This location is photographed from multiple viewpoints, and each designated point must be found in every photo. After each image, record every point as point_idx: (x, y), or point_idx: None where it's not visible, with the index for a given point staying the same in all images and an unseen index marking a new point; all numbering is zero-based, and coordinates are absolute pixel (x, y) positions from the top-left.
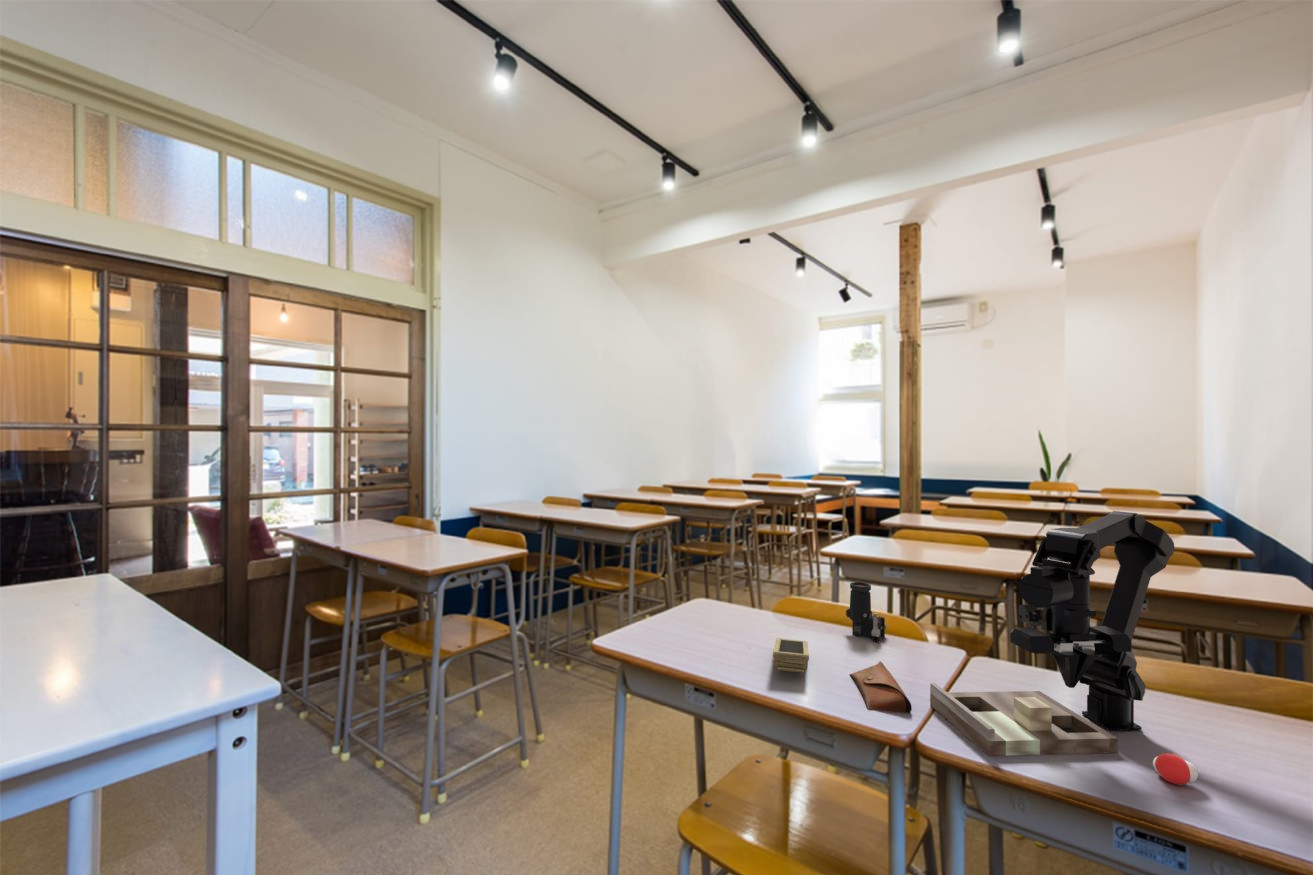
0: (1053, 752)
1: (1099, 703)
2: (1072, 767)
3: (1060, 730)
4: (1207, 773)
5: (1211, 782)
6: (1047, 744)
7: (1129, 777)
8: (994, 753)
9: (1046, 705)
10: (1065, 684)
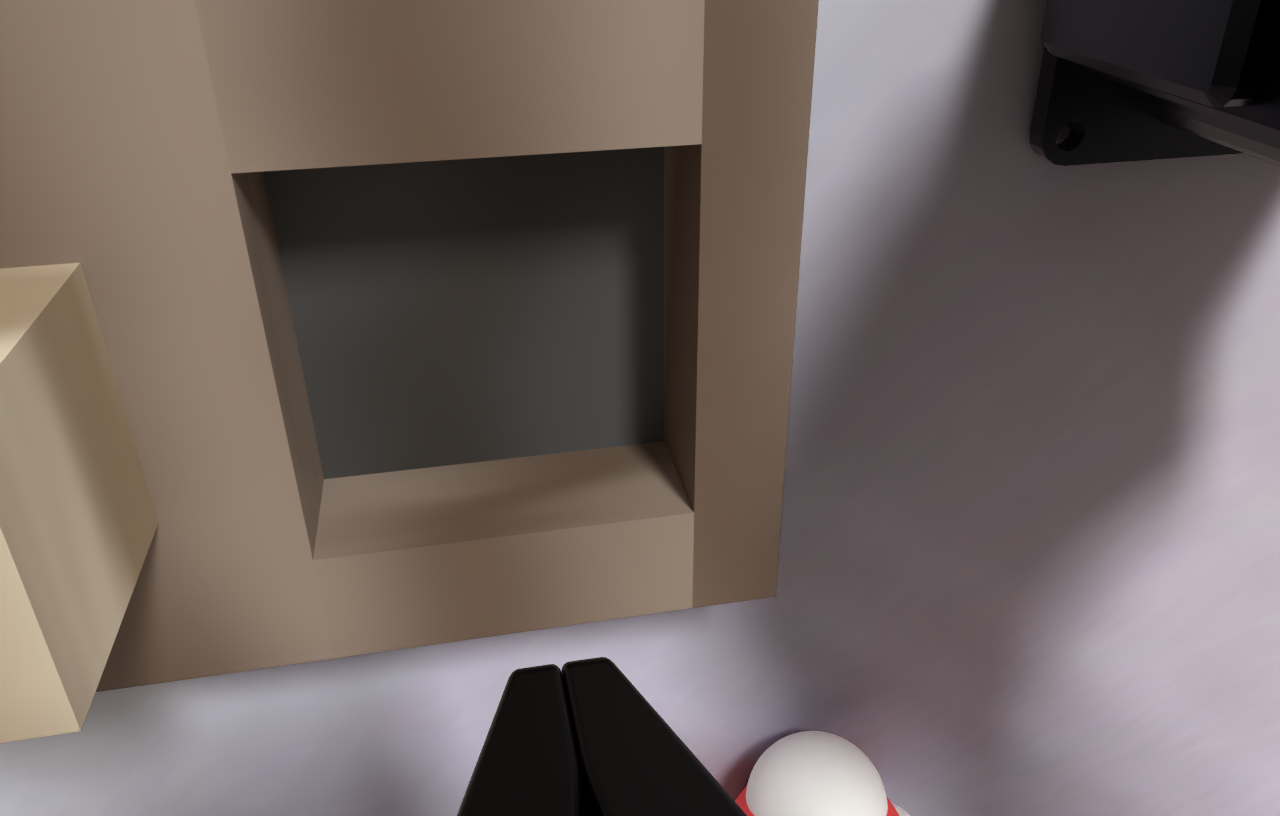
0: None
1: (1201, 98)
2: (171, 740)
3: (271, 517)
4: (1098, 678)
5: (1011, 756)
6: None
7: None
8: None
9: (26, 686)
10: (508, 682)
